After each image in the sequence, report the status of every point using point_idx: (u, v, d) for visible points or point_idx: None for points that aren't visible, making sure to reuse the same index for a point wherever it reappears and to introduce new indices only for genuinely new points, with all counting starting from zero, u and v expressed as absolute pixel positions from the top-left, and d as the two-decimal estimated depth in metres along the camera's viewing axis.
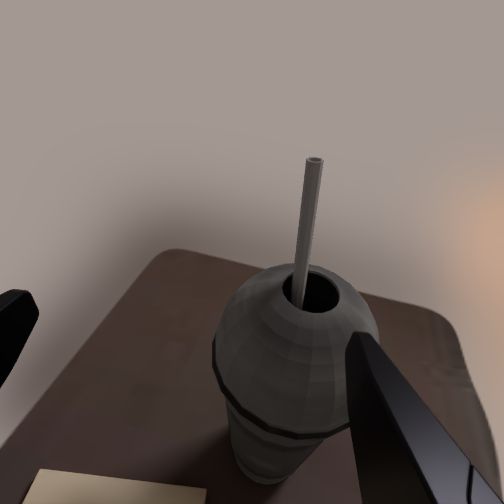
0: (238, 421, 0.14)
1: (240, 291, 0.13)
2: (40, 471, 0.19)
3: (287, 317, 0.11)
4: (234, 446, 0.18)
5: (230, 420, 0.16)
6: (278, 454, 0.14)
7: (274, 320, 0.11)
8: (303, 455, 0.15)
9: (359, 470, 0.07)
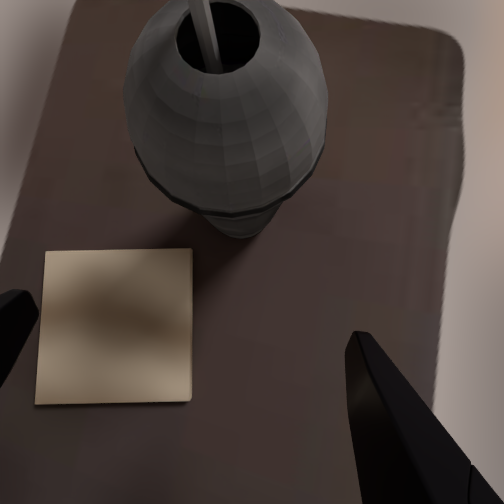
0: None
1: (132, 51, 0.09)
2: (47, 253, 0.22)
3: (185, 86, 0.08)
4: None
5: None
6: (233, 223, 0.15)
7: (171, 93, 0.08)
8: (260, 220, 0.16)
9: (359, 470, 0.07)
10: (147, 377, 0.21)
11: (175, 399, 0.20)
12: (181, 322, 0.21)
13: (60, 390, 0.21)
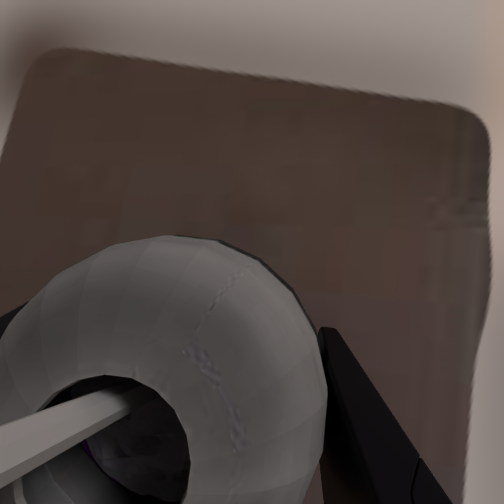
0: None
1: None
2: None
3: None
4: None
5: None
6: None
7: None
8: None
9: (321, 465, 0.07)
10: None
11: None
12: None
13: None
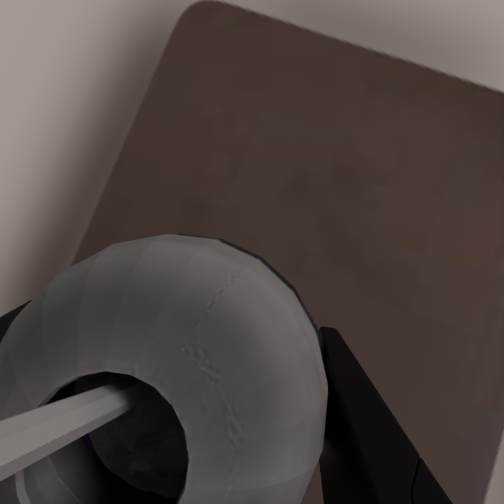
0: None
1: None
2: None
3: None
4: None
5: None
6: None
7: None
8: None
9: (321, 465, 0.07)
10: None
11: None
12: None
13: None
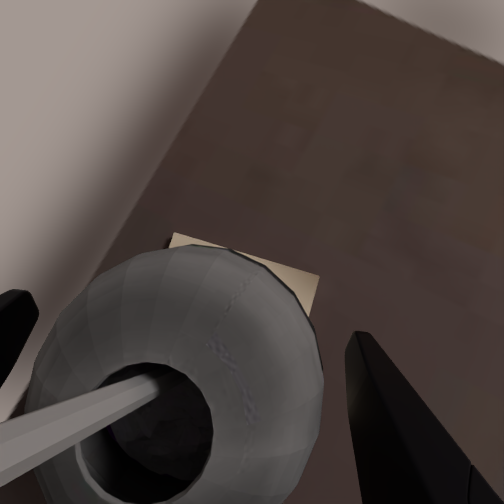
0: None
1: (33, 372, 0.06)
2: (175, 234, 0.21)
3: None
4: None
5: None
6: None
7: (74, 502, 0.05)
8: None
9: (359, 470, 0.07)
10: None
11: None
12: None
13: None
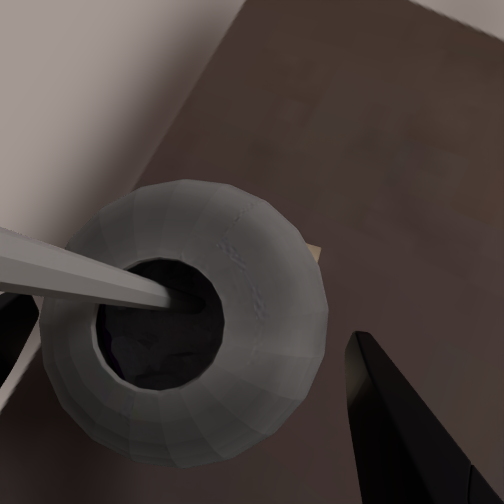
0: None
1: None
2: None
3: (107, 401, 0.05)
4: None
5: None
6: None
7: (90, 395, 0.05)
8: None
9: (359, 470, 0.07)
10: None
11: None
12: None
13: None
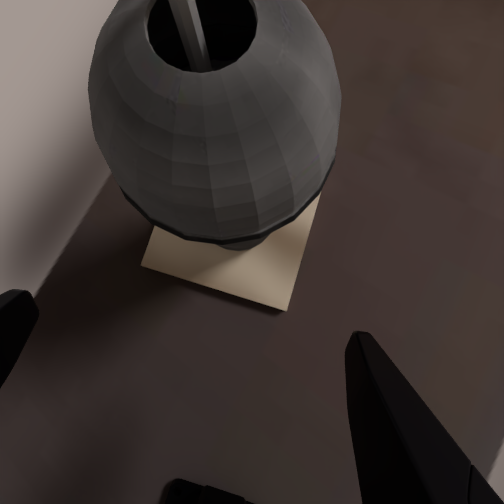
0: None
1: (97, 42, 0.07)
2: None
3: (157, 88, 0.06)
4: None
5: None
6: None
7: (140, 96, 0.06)
8: None
9: (359, 470, 0.07)
10: (252, 275, 0.21)
11: (273, 305, 0.20)
12: (299, 235, 0.21)
13: (167, 260, 0.21)
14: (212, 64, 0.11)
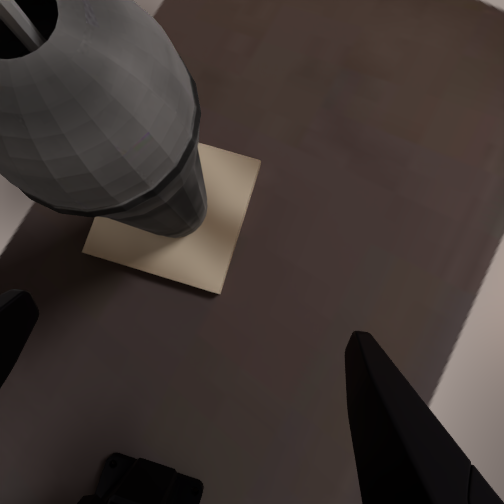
0: None
1: None
2: None
3: None
4: None
5: None
6: (131, 222, 0.14)
7: None
8: (165, 219, 0.15)
9: (359, 470, 0.07)
10: (187, 261, 0.22)
11: (206, 288, 0.22)
12: (232, 223, 0.22)
13: (107, 247, 0.22)
14: None
